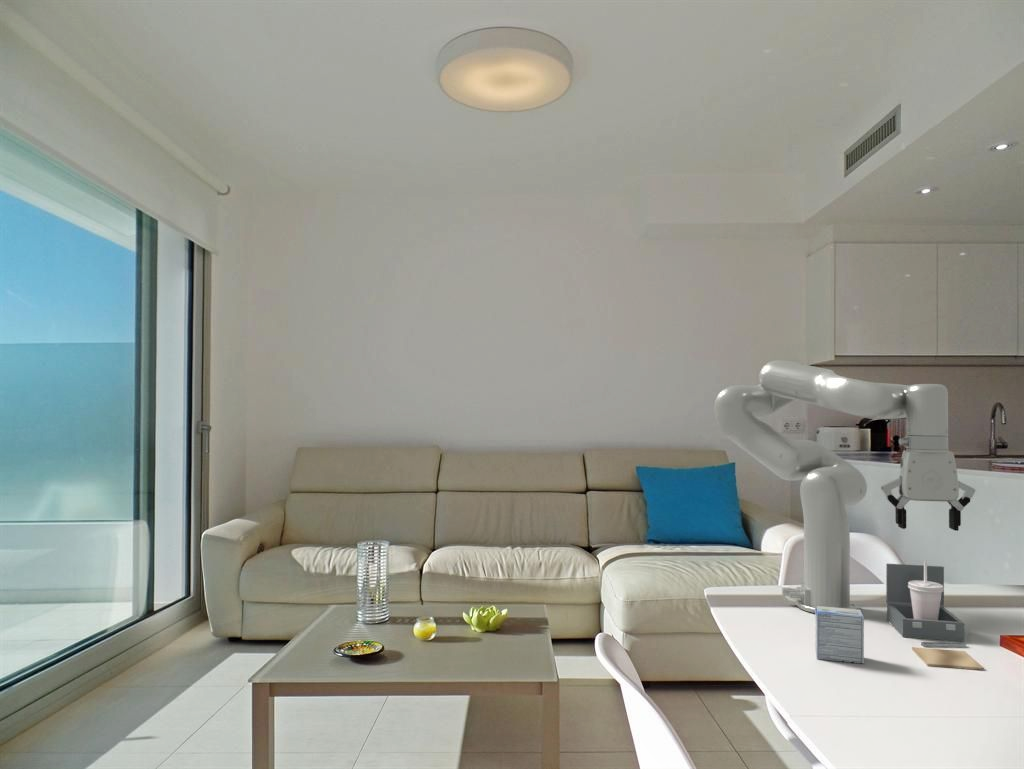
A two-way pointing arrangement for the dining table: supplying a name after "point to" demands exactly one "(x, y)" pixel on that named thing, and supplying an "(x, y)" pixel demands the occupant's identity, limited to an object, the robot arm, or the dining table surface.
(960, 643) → the rod
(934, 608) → the smoothie
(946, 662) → the pad
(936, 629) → the case
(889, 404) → the robot arm
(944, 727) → the dining table surface
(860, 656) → the medicine box
